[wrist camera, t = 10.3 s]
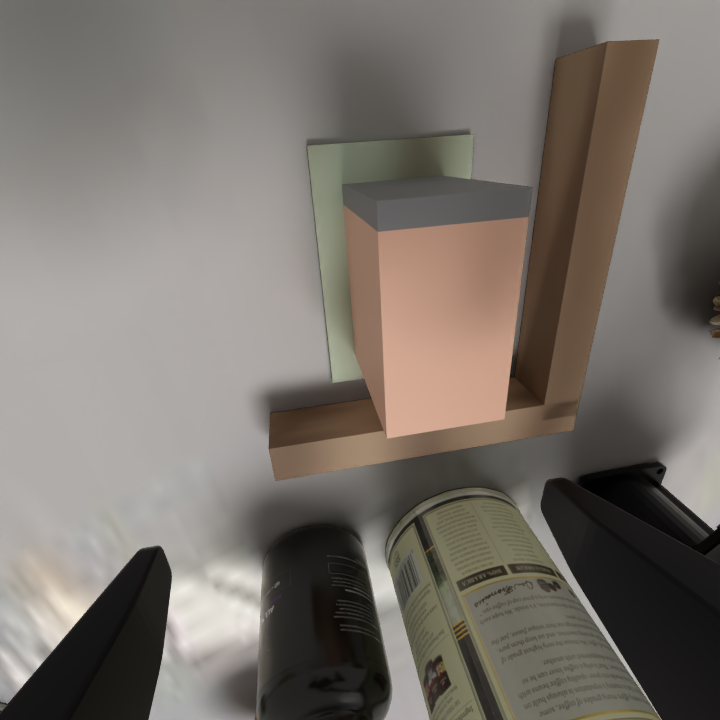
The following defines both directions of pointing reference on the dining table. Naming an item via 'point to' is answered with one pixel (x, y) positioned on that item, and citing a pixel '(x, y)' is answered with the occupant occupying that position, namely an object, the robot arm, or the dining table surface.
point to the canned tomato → (2, 706)
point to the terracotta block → (435, 296)
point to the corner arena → (545, 275)
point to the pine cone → (716, 319)
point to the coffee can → (500, 619)
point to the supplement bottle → (320, 631)
